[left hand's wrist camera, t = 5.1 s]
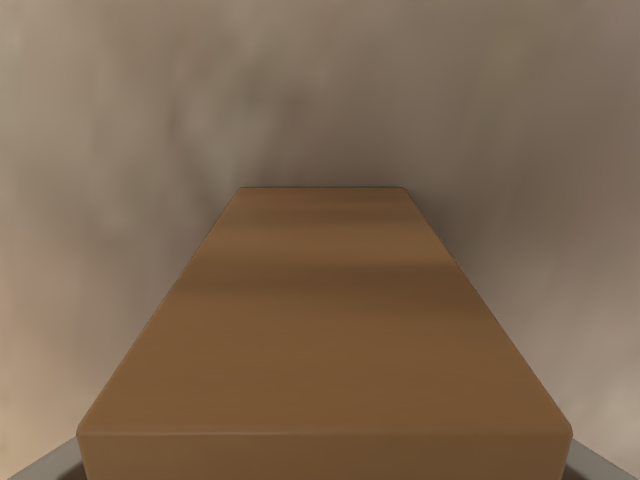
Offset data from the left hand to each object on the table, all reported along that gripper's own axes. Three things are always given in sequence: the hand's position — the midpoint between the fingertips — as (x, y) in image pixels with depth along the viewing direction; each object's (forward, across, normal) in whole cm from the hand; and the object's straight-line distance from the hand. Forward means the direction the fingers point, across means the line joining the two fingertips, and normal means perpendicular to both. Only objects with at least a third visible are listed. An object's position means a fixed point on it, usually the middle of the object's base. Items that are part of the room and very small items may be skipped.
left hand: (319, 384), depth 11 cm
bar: (+4, 0, +10) cm, 11 cm away
